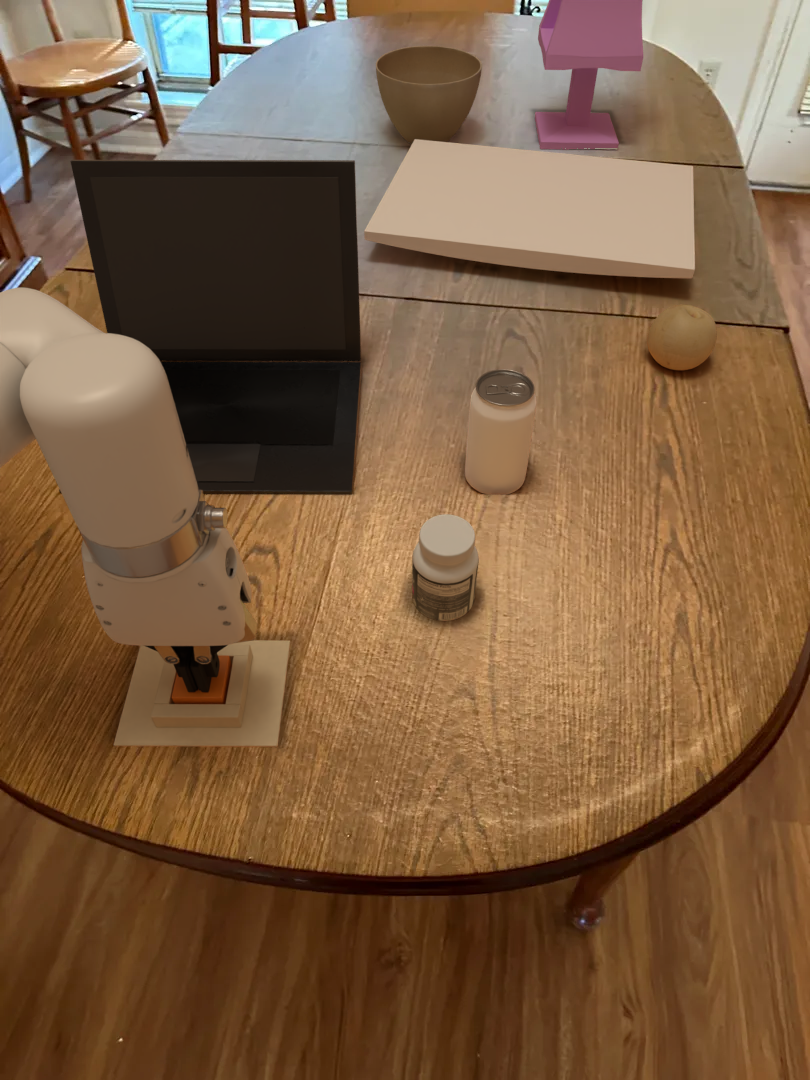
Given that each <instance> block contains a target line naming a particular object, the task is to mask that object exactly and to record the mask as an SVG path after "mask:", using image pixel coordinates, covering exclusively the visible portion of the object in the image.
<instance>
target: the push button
mask: <svg viewBox="0 0 810 1080" xmlns="http://www.w3.org/2000/svg"><path fill="white" fill-rule="evenodd" d="M218 657H219V662H220V667H219V673H218V676H217V677H212V679H211V684H210V689H209V692H201V691H199V689H198V691H196V692H188V691H187V688H186V686H185V683H184V681H183V678H182V677H179V676H178V674H177V676H176V680H175V685H174V689H173V694H172V699H173V702H174V704H226V698H227V692H228V687H229V681H230V675H231V670H232V664H231V660H230V657H229V656H223V655H218Z"/></svg>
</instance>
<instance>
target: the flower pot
mask: <svg viewBox="0 0 810 1080" xmlns="http://www.w3.org/2000/svg"><path fill="white" fill-rule="evenodd" d="M482 70H483V63H482V61H481V60H480V59H479V58H478V57H477V56H476V55H474V54H473V53H471V52H469V51H466V50H463V49H459V48H455V47H450V46H441V45H415V46H413V45H412V46H405V47H400V48H396V49H393V50H391V51H388V52H385V53H383V54H382V55H381V56H379V57H378V58H377V60H376V62H375V73H376V80H377V85H378V90H379V94H380V98H381V101H382V104H383V106H384V110H385V111H386V114H387V116H388V118H389V119H390V121H391V123H392V125H393V126H394V127H395V129H396V131H397V132H398V133H399V135H400V136H401V137H402V138H403V139H404V141H405V142H407V143H408V144H410V145H412V143H413V142H414V140H415V139H418V140H429V141H439V142H450V140H451V139H452V138H453V137H454V136H455V134H456V133H457V132H458V131H459V129H460V128H462V125H463V124H464V123H465V121H466V119H467V118H468V116H469V113H470V112H471V110H472V107H473V104H474V102H475V100H476V96H477V93H478V91H479V86H480V81H481V75H482Z"/></svg>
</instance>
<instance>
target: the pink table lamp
mask: <svg viewBox="0 0 810 1080" xmlns="http://www.w3.org/2000/svg"><path fill="white" fill-rule="evenodd" d="M538 25H539V26H538V33H537V40H538V45H539V47H540V51H541V57H542V63H543V68H544V69H543V70H544V71H570V70H571V74H570V82H569V89H568V95H567V101H566V109H565V111H535V113H534V123H535V122H536V123H535V128H537V129H536V135H537V134H538V135H537V139H538V140H537V141H538V146H539V145H540V146H539V149H540V150H569V149H577V148H578V149H584V148H587V149H588V148H590V149H595V148H618V149H619V145H620V143H619V139H618V137H617V134H616V130H615V128H614V124H613V122H612V118H611V115H610V113H609V112H592V106H593V100H594V94H595V88H596V83H597V77H598V70H599V69H605V70H606V69H607V70H613V71H619V72H641V71H642V67H643V61H644V44H643V43H644V41H643V0H548V2H547V5H546V8H545V10H544V13H543V16H542V18H541V21H540V23H539V24H538ZM561 148H562V149H561ZM565 148H566V149H565Z"/></svg>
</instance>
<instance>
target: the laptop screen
mask: <svg viewBox="0 0 810 1080" xmlns="http://www.w3.org/2000/svg"><path fill="white" fill-rule="evenodd" d="M70 165H71V166H70V167H71V171H72V175H73V181H74V184H75V190H76V194H77V198H78V202H79V208H80V213H81V217H82V222H83V226H84V231H85V235H86V240H87V245H88V249H89V254H90V255H89V256H90V258H91V264H92V267H93V268H92V269H93V273H94V277H95V282H96V287H97V291H98V292H97V293H98V296H99V301H100V306H101V310H102V315H103V320H104V325H105V330H106V333H111V334H118V335H123V336H127V337H130V338H133V339H135V340H137V341H140V342H141V343H143V344H144V345H145V346H147V347H148V348H150V349H151V350H152V352H153V353H154V354H155V355H156V356H157V357H158V359H159V360H160V362H362V340H361V339H362V338H361V335H362V334H361V310H360V308H361V307H360V304H361V303H360V276H359V275H360V274H359V247H358V246H359V243H358V213H357V211H358V209H357V183H356V182H357V181H356V180H357V179H356V160H353V159H351V160H349V159H348V160H347V159H346V160H343V159H341V160H340V159H338V160H337V159H336V160H334V159H333V160H332V159H331V160H329V159H323V160H322V159H318V160H317V159H314V160H312V159H299V160H298V159H261V160H260V159H249V160H248V159H72V160H70Z"/></svg>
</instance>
